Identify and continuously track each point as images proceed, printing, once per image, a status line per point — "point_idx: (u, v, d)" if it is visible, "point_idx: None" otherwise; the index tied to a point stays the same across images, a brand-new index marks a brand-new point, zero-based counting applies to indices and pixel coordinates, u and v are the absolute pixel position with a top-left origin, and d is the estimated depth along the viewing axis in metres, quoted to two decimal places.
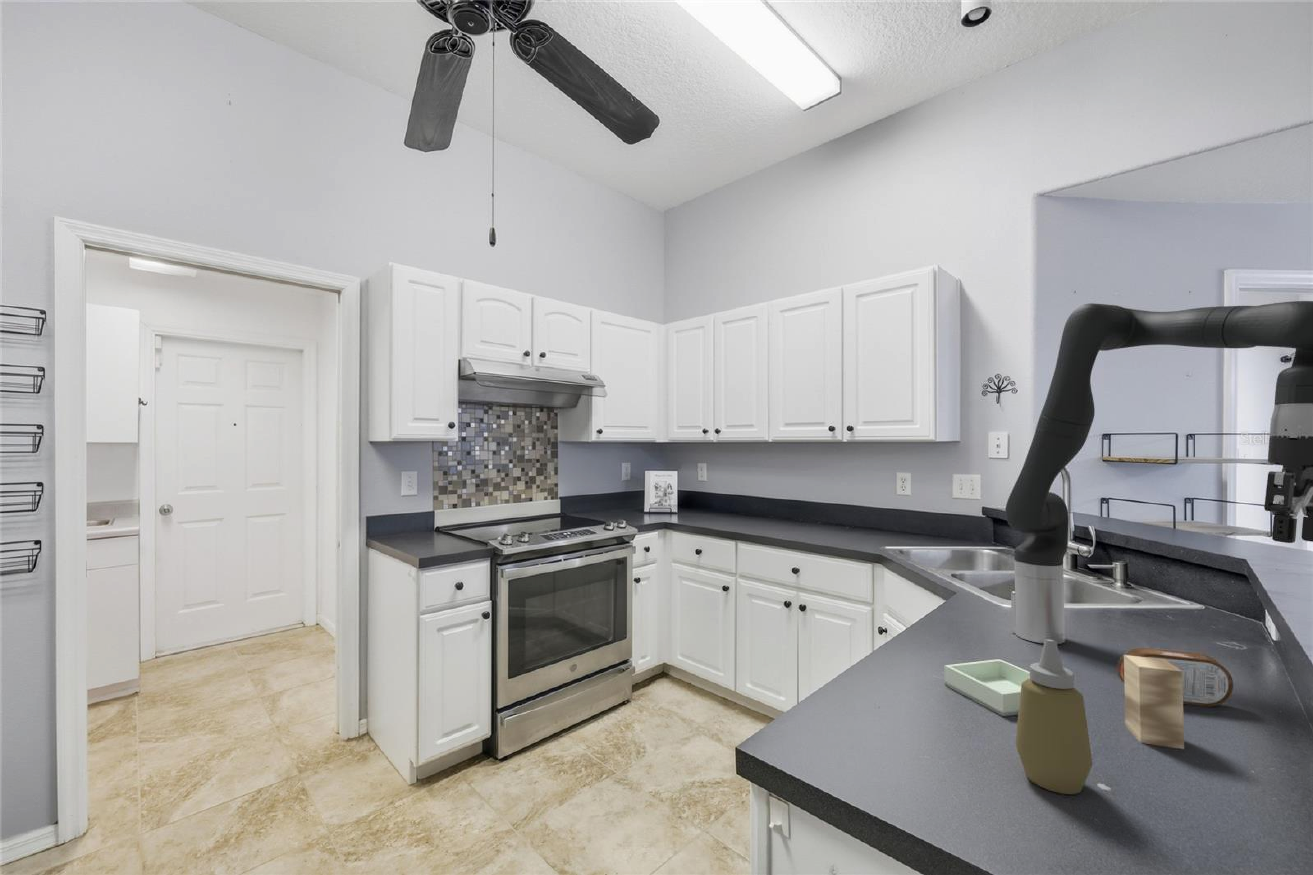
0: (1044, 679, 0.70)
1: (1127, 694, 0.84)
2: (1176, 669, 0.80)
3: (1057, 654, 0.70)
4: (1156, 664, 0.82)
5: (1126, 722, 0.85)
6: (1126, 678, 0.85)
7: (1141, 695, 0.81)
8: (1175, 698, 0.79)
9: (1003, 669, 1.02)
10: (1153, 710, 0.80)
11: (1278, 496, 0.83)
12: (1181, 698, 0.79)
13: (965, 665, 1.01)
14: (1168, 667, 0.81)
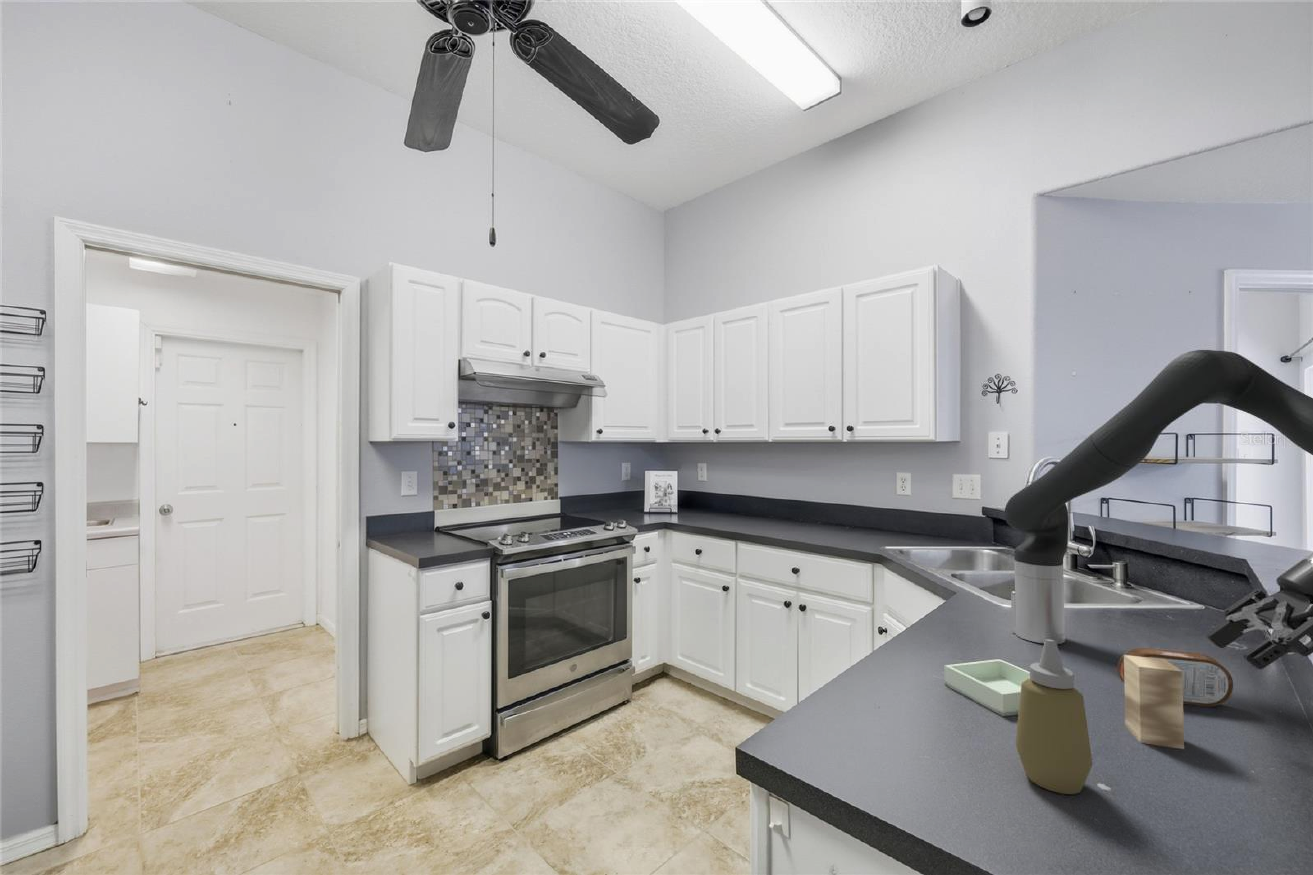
0: (1044, 679, 0.70)
1: (1127, 694, 0.84)
2: (1176, 669, 0.80)
3: (1057, 654, 0.70)
4: (1156, 664, 0.82)
5: (1126, 722, 0.85)
6: (1126, 678, 0.85)
7: (1141, 695, 0.81)
8: (1175, 698, 0.79)
9: (1003, 669, 1.02)
10: (1153, 710, 0.80)
11: (1285, 624, 0.74)
12: (1181, 698, 0.79)
13: (965, 665, 1.01)
14: (1168, 667, 0.81)
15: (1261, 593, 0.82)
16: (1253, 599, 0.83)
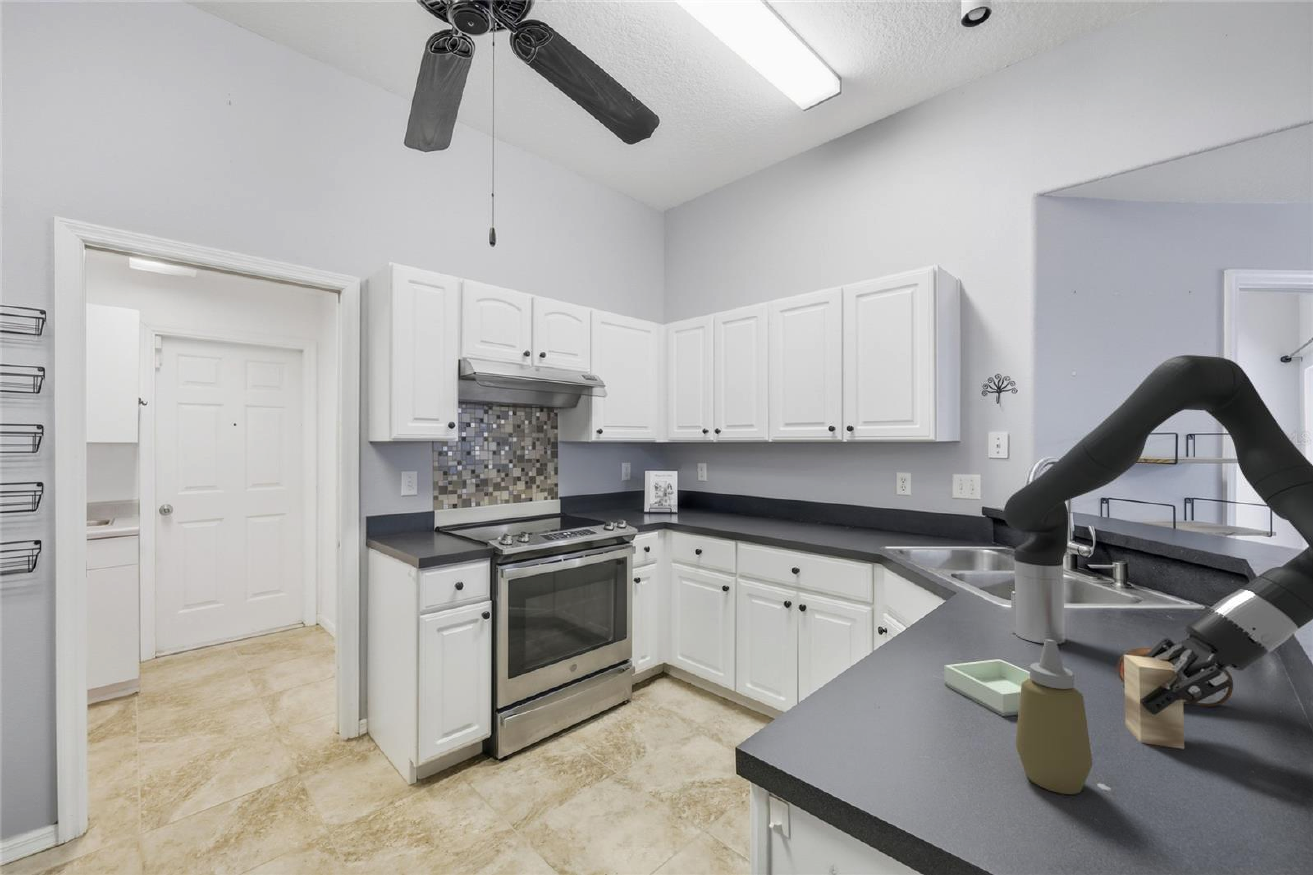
0: (1044, 679, 0.70)
1: (1128, 694, 0.84)
2: None
3: (1057, 654, 0.70)
4: (1156, 663, 0.82)
5: (1126, 722, 0.85)
6: (1126, 677, 0.85)
7: (1141, 695, 0.81)
8: None
9: (1003, 669, 1.02)
10: None
11: (1181, 674, 0.79)
12: None
13: (965, 665, 1.01)
14: (1168, 667, 0.81)
15: (1170, 641, 0.86)
16: (1164, 648, 0.86)
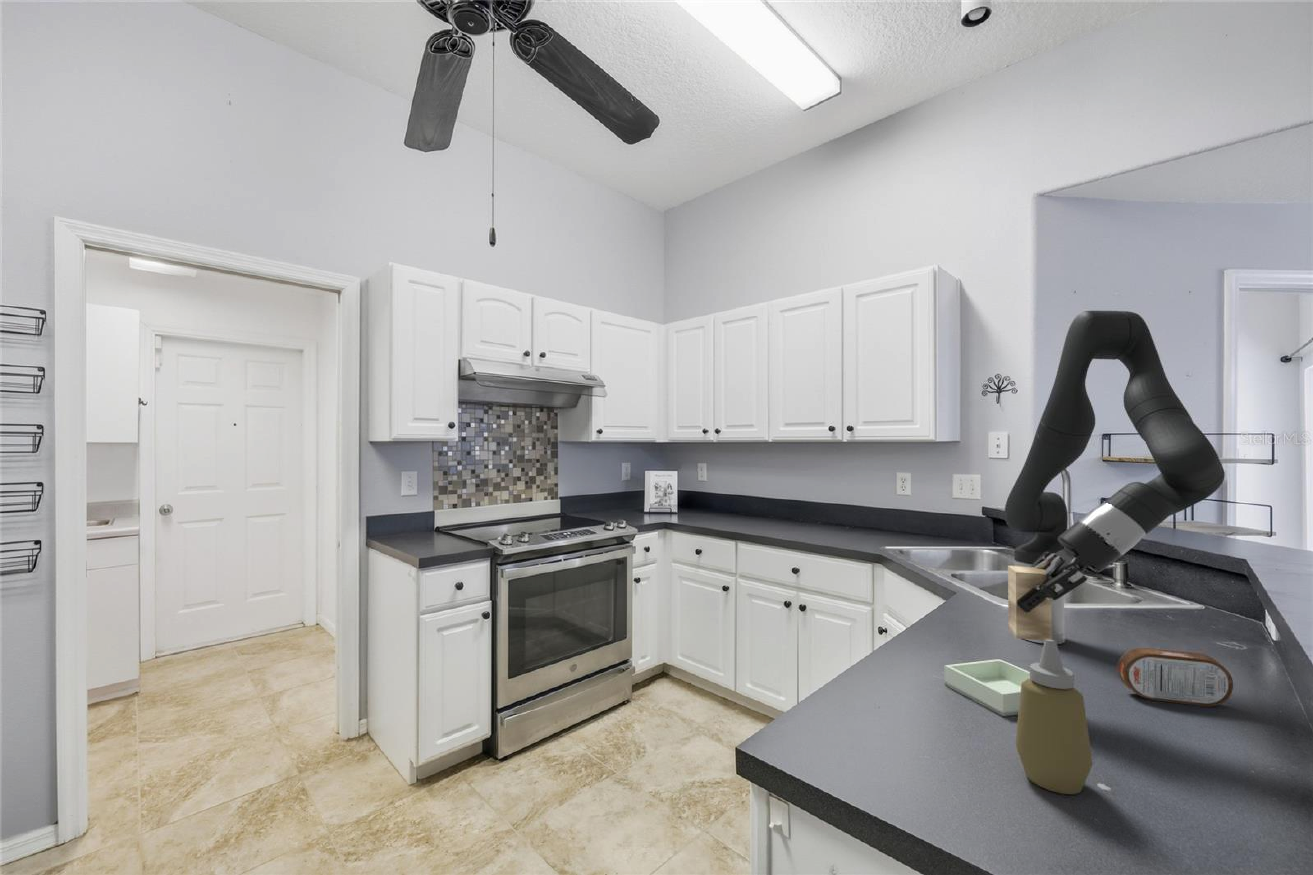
0: (1044, 679, 0.70)
1: (1010, 599, 0.96)
2: None
3: (1057, 654, 0.70)
4: (1032, 570, 0.93)
5: (1009, 624, 0.96)
6: (1009, 585, 0.96)
7: (1017, 597, 0.92)
8: (1045, 598, 0.91)
9: (1003, 669, 1.02)
10: None
11: (1049, 576, 0.90)
12: None
13: (965, 665, 1.01)
14: (1041, 572, 0.92)
15: (1049, 554, 0.97)
16: (1043, 559, 0.97)
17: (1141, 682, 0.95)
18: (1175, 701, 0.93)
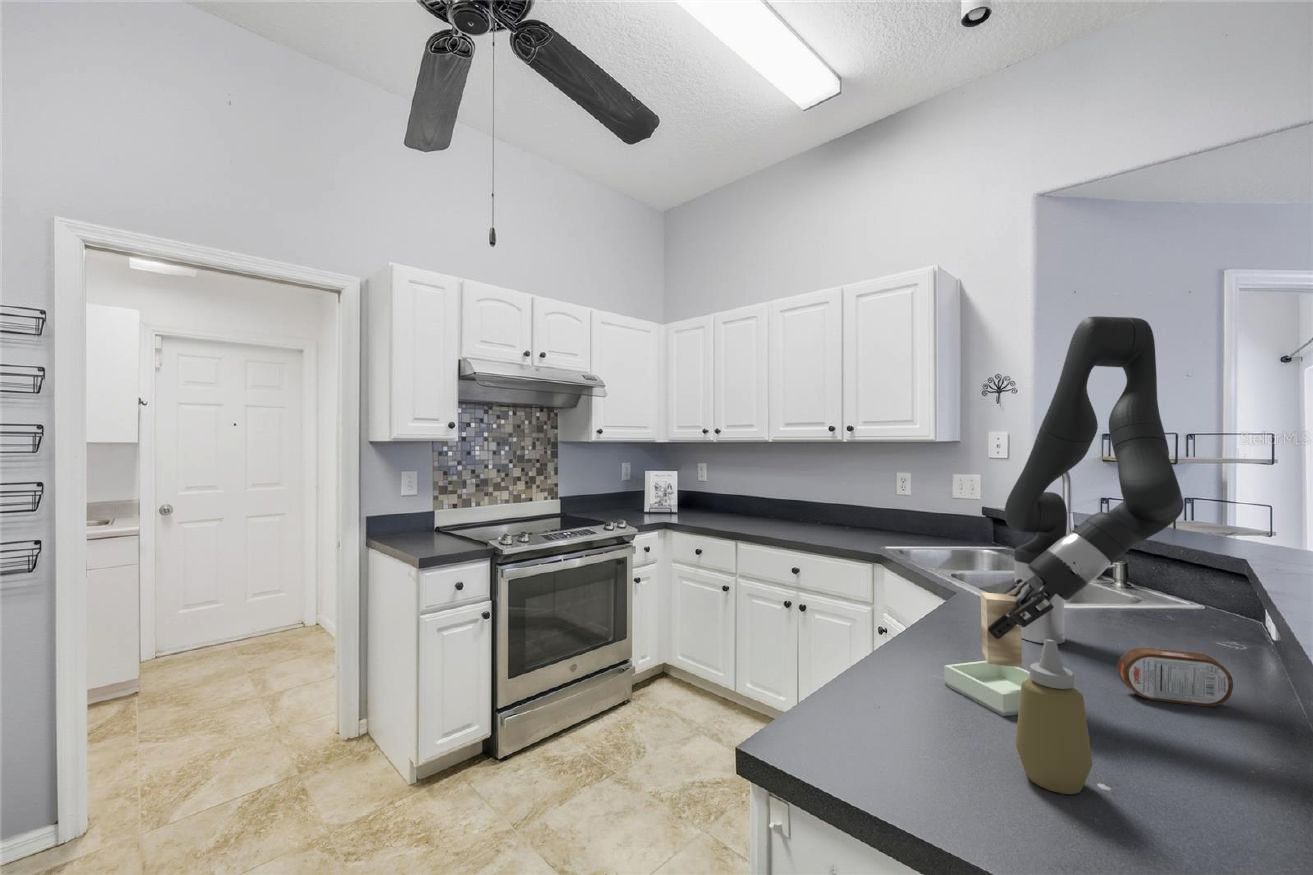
0: (1044, 679, 0.70)
1: (982, 625, 0.98)
2: None
3: (1057, 654, 0.70)
4: (1003, 597, 0.96)
5: (982, 650, 0.99)
6: (981, 611, 0.99)
7: (988, 623, 0.95)
8: None
9: (1003, 669, 1.02)
10: None
11: (1019, 603, 0.93)
12: None
13: (965, 665, 1.01)
14: (1011, 599, 0.95)
15: (1021, 581, 1.00)
16: (1016, 586, 1.00)
17: (1141, 682, 0.95)
18: (1175, 701, 0.93)
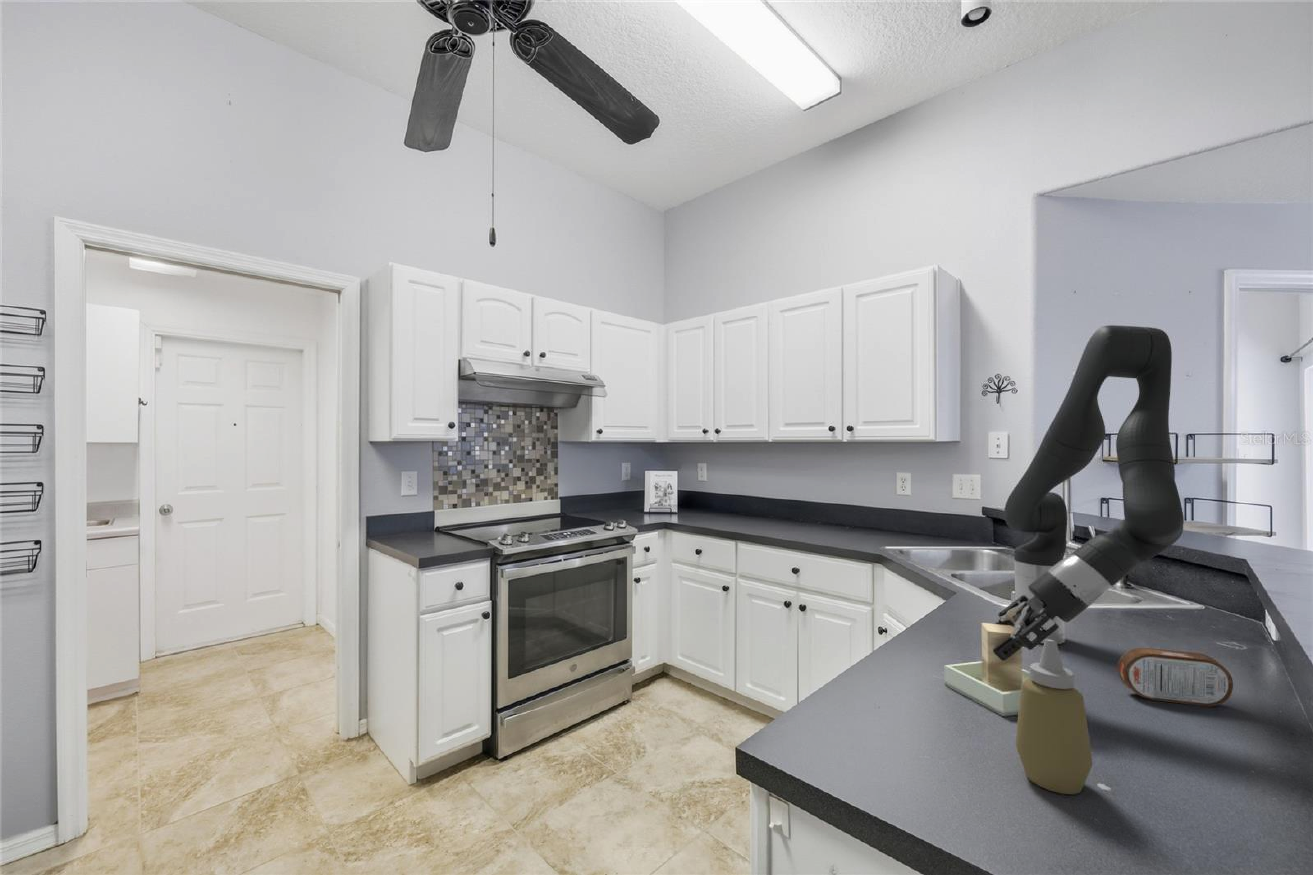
0: (1044, 679, 0.70)
1: (983, 656, 0.98)
2: None
3: (1057, 654, 0.70)
4: (1004, 629, 0.96)
5: (982, 680, 0.99)
6: (982, 642, 0.99)
7: (989, 655, 0.95)
8: (1015, 657, 0.93)
9: None
10: (998, 668, 0.94)
11: (1023, 624, 0.92)
12: (1020, 657, 0.93)
13: (965, 665, 1.01)
14: (1012, 631, 0.95)
15: (1024, 598, 1.00)
16: (1018, 603, 1.00)
17: (1141, 682, 0.95)
18: (1175, 701, 0.93)
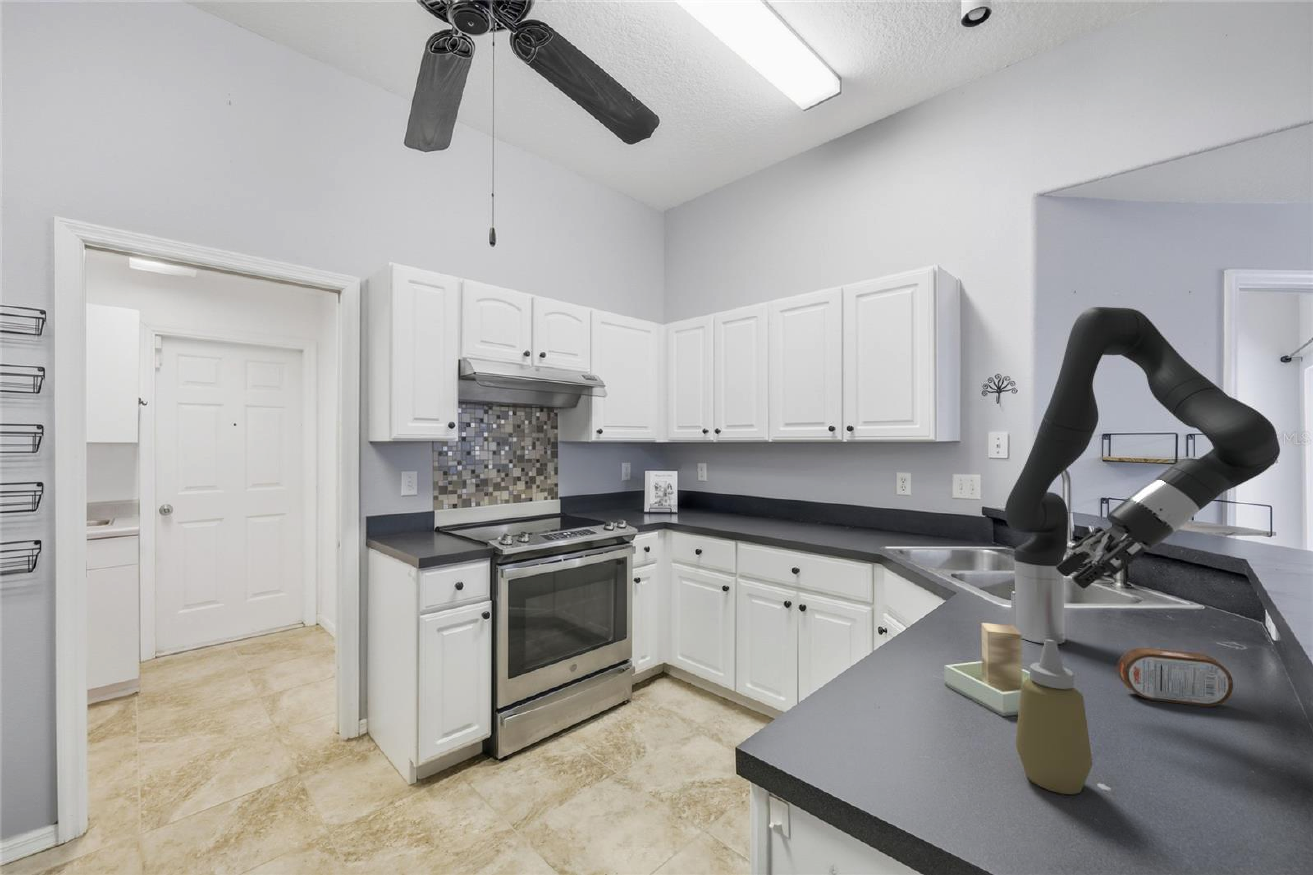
0: (1044, 679, 0.70)
1: (983, 656, 0.98)
2: (1018, 633, 0.94)
3: (1057, 654, 0.70)
4: (1004, 629, 0.96)
5: (982, 680, 0.99)
6: (982, 642, 0.99)
7: (989, 655, 0.95)
8: (1015, 657, 0.93)
9: None
10: (998, 668, 0.94)
11: (1105, 551, 0.89)
12: (1020, 657, 0.93)
13: (965, 665, 1.01)
14: (1012, 631, 0.95)
15: (1100, 530, 0.97)
16: (1093, 535, 0.97)
17: (1141, 682, 0.95)
18: (1175, 701, 0.93)
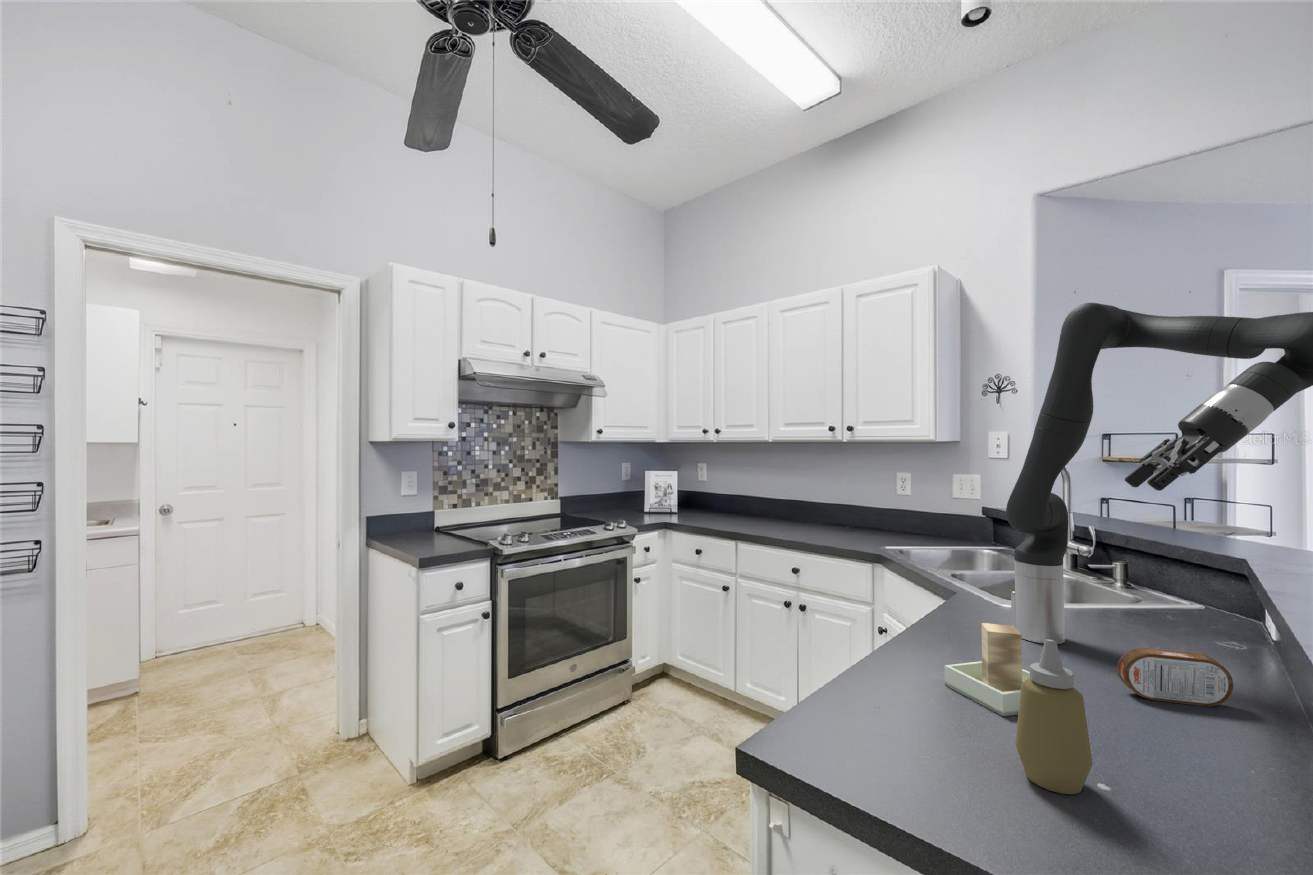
0: (1044, 679, 0.70)
1: (983, 656, 0.98)
2: (1018, 633, 0.94)
3: (1057, 654, 0.70)
4: (1004, 629, 0.96)
5: (982, 680, 0.99)
6: (982, 642, 0.99)
7: (989, 655, 0.95)
8: (1015, 657, 0.93)
9: None
10: (998, 668, 0.94)
11: (1180, 454, 0.91)
12: (1020, 657, 0.93)
13: (965, 665, 1.01)
14: (1012, 631, 0.95)
15: (1169, 441, 0.99)
16: (1162, 446, 0.99)
17: (1141, 682, 0.95)
18: (1175, 701, 0.93)
